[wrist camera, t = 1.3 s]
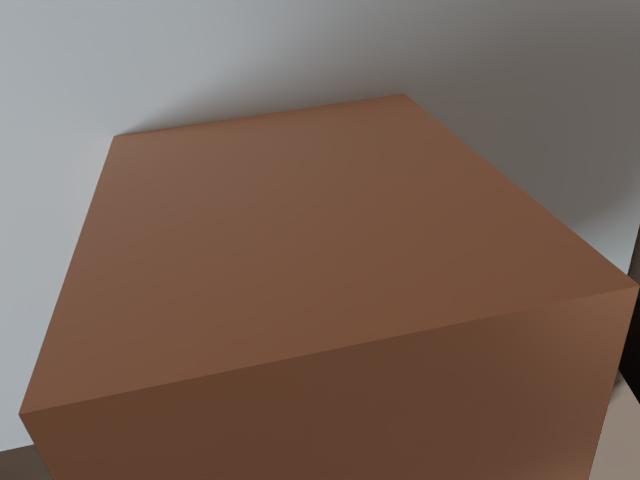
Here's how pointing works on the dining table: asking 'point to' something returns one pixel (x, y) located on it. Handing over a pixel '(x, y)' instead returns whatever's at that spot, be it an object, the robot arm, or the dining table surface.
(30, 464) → the dining table surface
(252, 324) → the terracotta block
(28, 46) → the blueprint board
